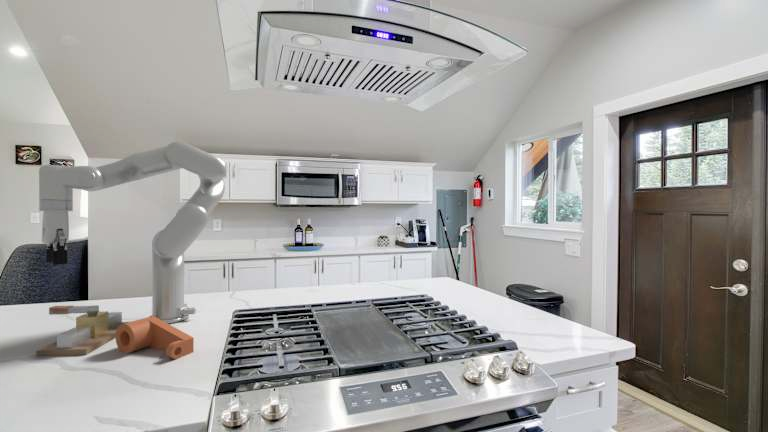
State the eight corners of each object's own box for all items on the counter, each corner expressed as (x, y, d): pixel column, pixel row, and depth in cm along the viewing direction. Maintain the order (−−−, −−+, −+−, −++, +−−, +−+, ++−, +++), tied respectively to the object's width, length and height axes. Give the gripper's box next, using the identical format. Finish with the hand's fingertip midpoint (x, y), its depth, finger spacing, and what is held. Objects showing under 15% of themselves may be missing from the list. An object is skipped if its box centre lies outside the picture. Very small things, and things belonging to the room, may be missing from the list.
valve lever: (101, 311, 108) (101, 304, 108) (94, 313, 105) (94, 307, 105) (55, 312, 107) (55, 305, 107) (48, 314, 104) (48, 308, 104)
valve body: (107, 323, 117) (107, 303, 117) (124, 323, 118) (124, 303, 118) (54, 348, 95) (54, 324, 95) (74, 348, 96) (74, 323, 96)
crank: (115, 351, 99) (115, 322, 99) (144, 341, 106) (144, 314, 106) (166, 363, 91) (166, 331, 91) (193, 352, 98) (193, 323, 98)
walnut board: (98, 327, 118) (98, 322, 118) (137, 326, 119) (137, 321, 119) (36, 356, 94) (36, 350, 94) (86, 354, 95) (86, 349, 95)
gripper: (34, 206, 112) (34, 261, 112) (44, 206, 101) (45, 267, 101) (66, 206, 117) (66, 259, 118) (79, 206, 107) (79, 264, 107)
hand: (56, 262), depth 109 cm, fingers open, 9 cm apart
